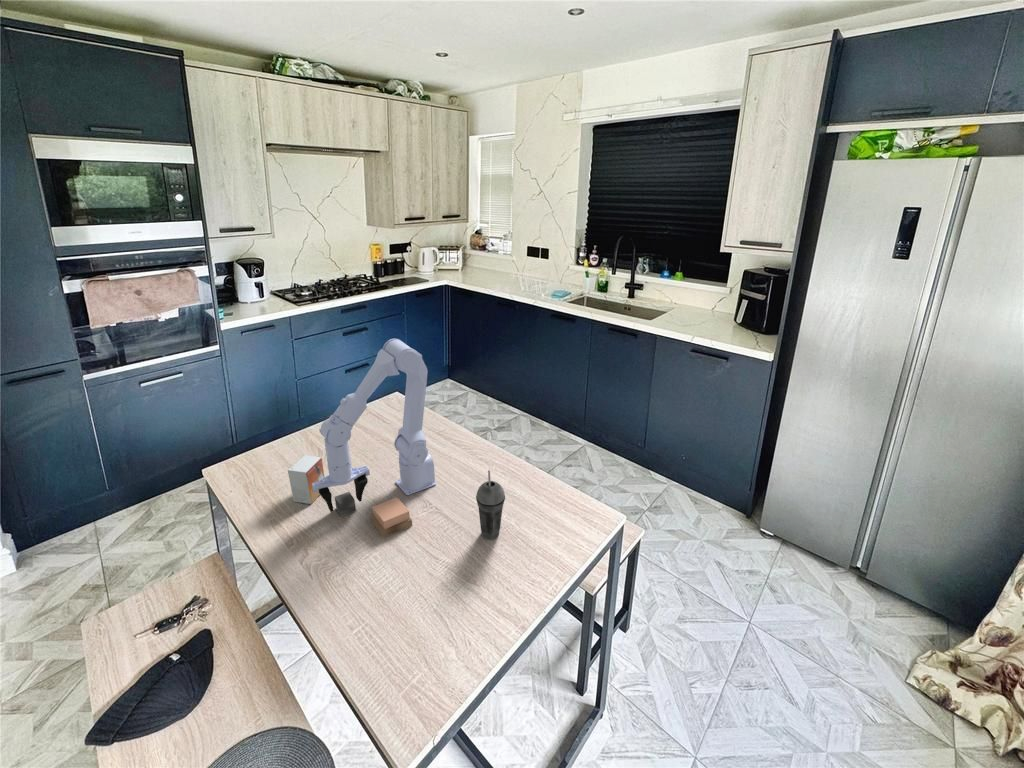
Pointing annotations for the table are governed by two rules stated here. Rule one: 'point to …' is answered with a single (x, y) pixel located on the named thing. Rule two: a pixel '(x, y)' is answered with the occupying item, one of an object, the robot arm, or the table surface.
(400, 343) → the robot arm
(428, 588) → the table surface
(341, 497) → the charcoal cube
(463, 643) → the table surface
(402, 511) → the terracotta slab
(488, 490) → the beverage cup
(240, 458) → the table surface
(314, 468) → the small box
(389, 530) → the walnut slab
